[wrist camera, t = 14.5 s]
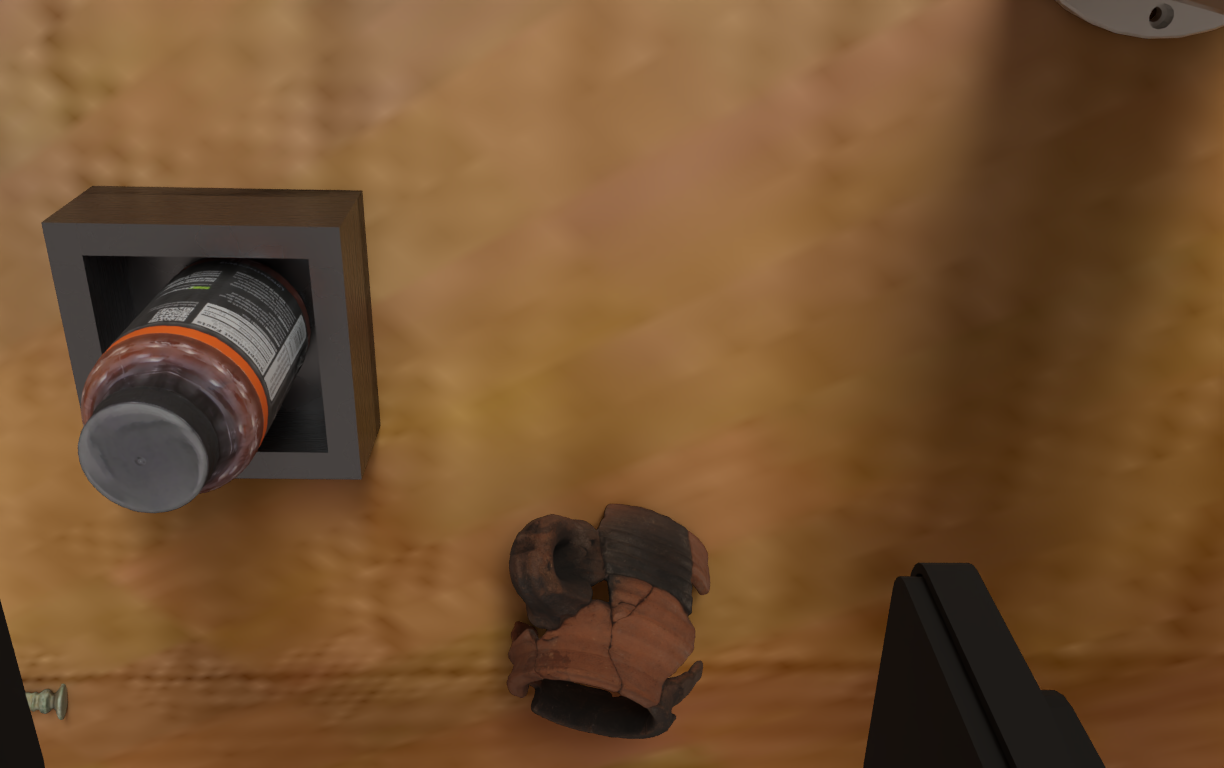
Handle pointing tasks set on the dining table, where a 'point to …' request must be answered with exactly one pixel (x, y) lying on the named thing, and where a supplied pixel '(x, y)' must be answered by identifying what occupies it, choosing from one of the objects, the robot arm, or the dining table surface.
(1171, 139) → the dining table surface
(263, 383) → the supplement bottle
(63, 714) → the soupspoon
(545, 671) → the pottery mug
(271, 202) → the can holder
